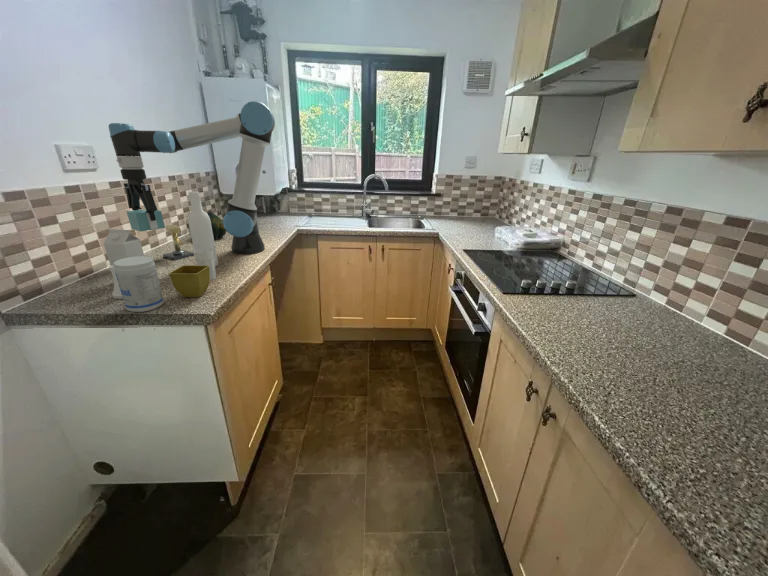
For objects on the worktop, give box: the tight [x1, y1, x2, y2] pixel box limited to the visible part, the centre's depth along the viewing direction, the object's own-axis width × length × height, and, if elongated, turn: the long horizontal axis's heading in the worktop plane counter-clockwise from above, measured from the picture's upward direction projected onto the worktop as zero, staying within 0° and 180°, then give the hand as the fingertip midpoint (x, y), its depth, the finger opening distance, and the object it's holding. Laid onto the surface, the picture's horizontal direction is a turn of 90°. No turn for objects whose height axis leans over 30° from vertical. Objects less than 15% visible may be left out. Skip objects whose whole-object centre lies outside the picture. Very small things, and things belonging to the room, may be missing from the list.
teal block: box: [126, 209, 166, 232], centre depth 129 cm, size 8×9×7 cm
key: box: [165, 224, 184, 251], centre depth 139 cm, size 4×14×11 cm, turn 42°
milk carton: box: [103, 228, 145, 266], centre depth 111 cm, size 7×7×19 cm
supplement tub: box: [113, 255, 165, 313], centre depth 94 cm, size 10×10×15 cm
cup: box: [192, 248, 217, 281], centre depth 117 cm, size 7×7×11 cm
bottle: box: [187, 191, 219, 268], centre depth 127 cm, size 8×8×30 cm
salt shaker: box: [108, 265, 123, 300], centre depth 102 cm, size 8×8×10 cm
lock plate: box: [162, 249, 194, 261], centre depth 143 cm, size 9×9×2 cm
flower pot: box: [168, 264, 211, 298], centre depth 104 cm, size 9×9×9 cm
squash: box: [206, 211, 227, 241], centre depth 174 cm, size 14×15×15 cm
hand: (148, 227), depth 130 cm, fingers closed on teal block, 8 cm apart
